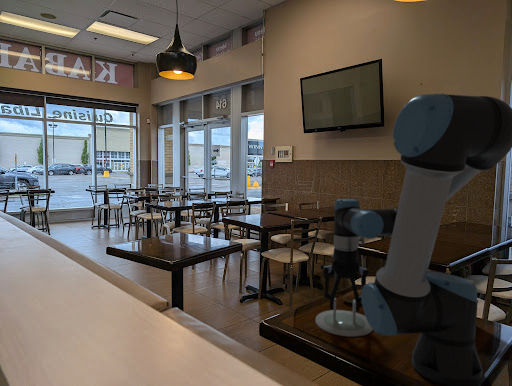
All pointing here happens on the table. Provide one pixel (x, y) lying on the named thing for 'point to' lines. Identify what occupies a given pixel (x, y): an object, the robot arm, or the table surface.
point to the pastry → (351, 296)
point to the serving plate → (343, 323)
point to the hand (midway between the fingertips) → (344, 320)
